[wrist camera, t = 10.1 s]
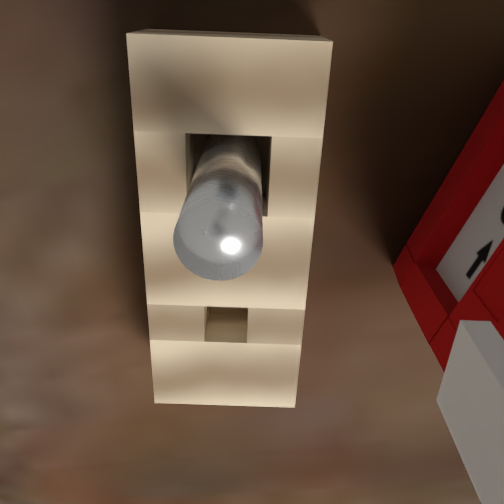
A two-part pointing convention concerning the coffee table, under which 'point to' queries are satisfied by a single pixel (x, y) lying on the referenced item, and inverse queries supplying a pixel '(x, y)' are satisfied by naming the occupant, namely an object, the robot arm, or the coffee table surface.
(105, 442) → the coffee table surface
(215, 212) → the pin
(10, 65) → the coffee table surface
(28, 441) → the coffee table surface
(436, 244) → the fire alarm
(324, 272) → the coffee table surface
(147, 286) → the bore block
